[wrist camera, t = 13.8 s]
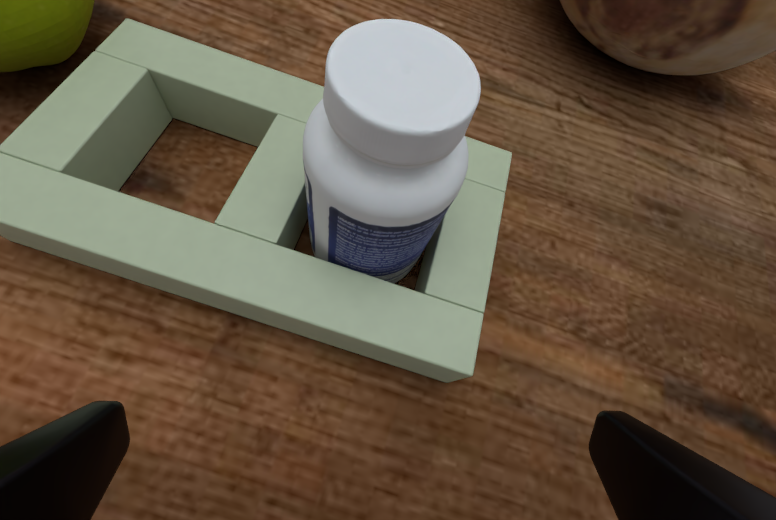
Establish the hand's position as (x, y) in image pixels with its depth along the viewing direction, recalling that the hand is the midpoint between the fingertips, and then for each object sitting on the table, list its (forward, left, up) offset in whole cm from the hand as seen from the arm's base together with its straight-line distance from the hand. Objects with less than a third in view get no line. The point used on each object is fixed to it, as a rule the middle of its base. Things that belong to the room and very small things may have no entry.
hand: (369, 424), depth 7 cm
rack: (+8, +6, -8) cm, 13 cm away
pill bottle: (+8, +2, -9) cm, 12 cm away
